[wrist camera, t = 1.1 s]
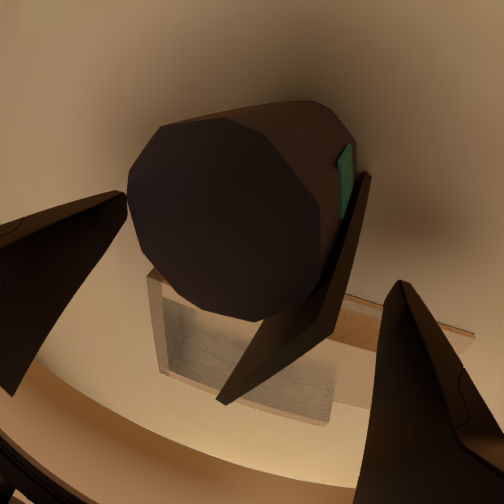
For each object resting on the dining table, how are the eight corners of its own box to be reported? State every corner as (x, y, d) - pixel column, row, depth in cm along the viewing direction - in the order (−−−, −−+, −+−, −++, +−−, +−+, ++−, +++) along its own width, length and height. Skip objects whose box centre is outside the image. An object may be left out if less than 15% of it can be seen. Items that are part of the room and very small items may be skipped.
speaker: (402, 201, 13) (407, 391, 5) (310, 248, 17) (230, 413, 9) (309, 69, 12) (162, 63, 4) (225, 137, 15) (60, 231, 7)
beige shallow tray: (474, 333, 17) (482, 373, 14) (391, 408, 25) (389, 440, 22) (174, 238, 19) (146, 272, 16) (176, 344, 27) (159, 373, 24)
